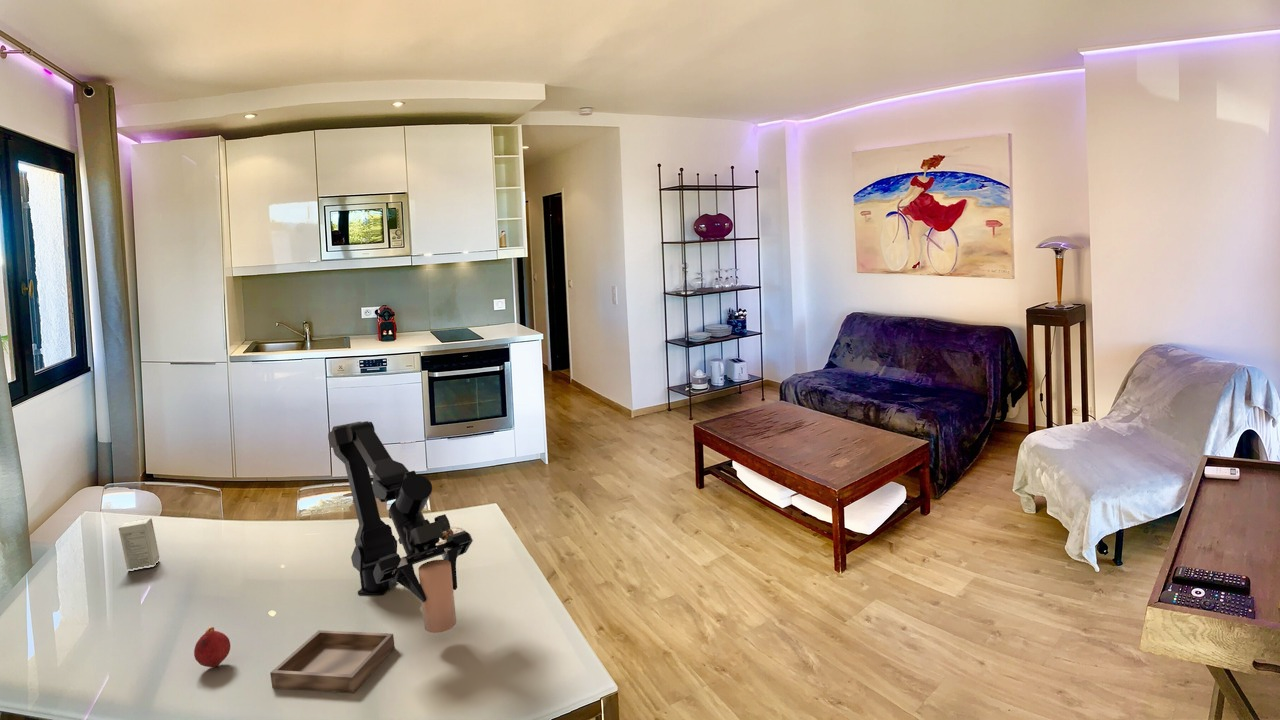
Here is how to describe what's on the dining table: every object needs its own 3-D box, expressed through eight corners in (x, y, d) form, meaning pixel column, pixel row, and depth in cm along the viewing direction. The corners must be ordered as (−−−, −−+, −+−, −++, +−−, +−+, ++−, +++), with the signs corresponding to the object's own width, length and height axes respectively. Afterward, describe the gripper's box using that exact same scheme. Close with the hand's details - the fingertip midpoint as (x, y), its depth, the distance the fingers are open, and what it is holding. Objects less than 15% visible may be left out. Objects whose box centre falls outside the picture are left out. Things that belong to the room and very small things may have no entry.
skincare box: (160, 561, 181) (153, 517, 179) (155, 568, 177) (147, 523, 175) (132, 565, 179) (124, 521, 177) (125, 572, 175) (117, 527, 173)
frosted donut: (414, 538, 189) (412, 524, 188) (469, 529, 193) (468, 515, 193) (414, 560, 175) (413, 544, 174) (474, 549, 180) (473, 534, 179)
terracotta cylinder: (418, 632, 131) (412, 573, 130) (433, 615, 137) (427, 559, 135) (448, 633, 130) (442, 574, 129) (461, 616, 136) (456, 560, 134)
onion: (215, 677, 127) (209, 637, 126) (189, 675, 128) (183, 635, 127) (239, 659, 133) (234, 620, 132) (214, 657, 134) (208, 619, 133)
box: (272, 688, 123) (270, 672, 123) (320, 644, 137) (318, 630, 136) (353, 693, 120) (352, 677, 120) (394, 647, 134) (393, 633, 134)
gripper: (372, 519, 127) (402, 594, 121) (464, 492, 139) (496, 560, 133) (361, 547, 134) (389, 620, 128) (449, 519, 146) (479, 584, 140)
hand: (440, 595), depth 132 cm, fingers closed on terracotta cylinder, 6 cm apart
